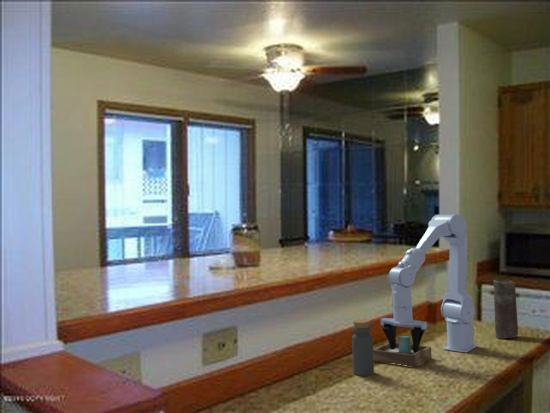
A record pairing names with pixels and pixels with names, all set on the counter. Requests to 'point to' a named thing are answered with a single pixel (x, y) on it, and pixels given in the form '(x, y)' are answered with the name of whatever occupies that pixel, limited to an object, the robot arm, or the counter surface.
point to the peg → (404, 345)
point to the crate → (401, 355)
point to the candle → (505, 309)
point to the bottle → (362, 348)
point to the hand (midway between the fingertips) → (404, 350)
